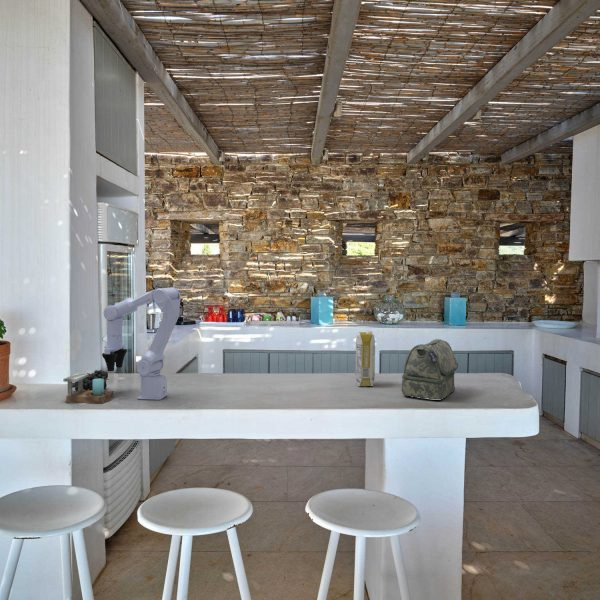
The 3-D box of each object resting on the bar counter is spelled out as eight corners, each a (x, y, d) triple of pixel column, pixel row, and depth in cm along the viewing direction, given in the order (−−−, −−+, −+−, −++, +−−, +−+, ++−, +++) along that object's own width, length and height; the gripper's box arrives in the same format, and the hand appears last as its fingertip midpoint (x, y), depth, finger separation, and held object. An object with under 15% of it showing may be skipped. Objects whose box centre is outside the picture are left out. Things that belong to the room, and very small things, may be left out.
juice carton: (375, 387, 237) (376, 332, 236) (356, 387, 237) (357, 331, 236) (372, 383, 247) (373, 329, 245) (354, 382, 247) (355, 329, 245)
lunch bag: (442, 404, 211) (443, 347, 209) (396, 397, 220) (397, 343, 219) (460, 390, 233) (461, 339, 232) (418, 385, 242) (419, 336, 241)
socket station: (115, 397, 216) (115, 374, 216) (103, 403, 206) (103, 380, 206) (76, 396, 218) (76, 373, 217) (63, 402, 208) (63, 378, 207)
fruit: (68, 370, 222) (108, 368, 226) (71, 373, 230) (110, 371, 234) (68, 392, 220) (108, 389, 224) (71, 394, 228) (110, 391, 232)
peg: (106, 399, 213) (105, 378, 213) (100, 401, 209) (100, 380, 209) (96, 398, 214) (96, 378, 213) (90, 401, 210) (90, 380, 210)
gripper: (112, 332, 228) (113, 365, 229) (96, 337, 214) (97, 372, 215) (129, 333, 228) (129, 366, 229) (114, 338, 213) (114, 372, 214)
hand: (115, 369), depth 222 cm, fingers open, 7 cm apart
